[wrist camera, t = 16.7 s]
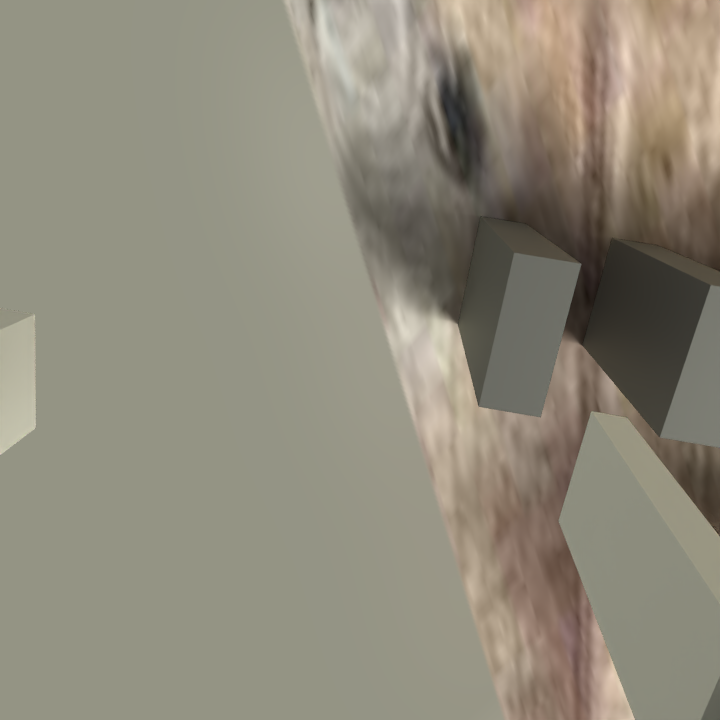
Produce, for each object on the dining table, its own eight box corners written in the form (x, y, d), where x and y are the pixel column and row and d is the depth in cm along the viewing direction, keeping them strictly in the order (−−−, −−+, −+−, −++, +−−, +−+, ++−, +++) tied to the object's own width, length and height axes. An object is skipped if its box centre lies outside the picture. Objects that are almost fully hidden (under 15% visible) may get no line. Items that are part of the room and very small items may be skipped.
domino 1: (500, 331, 36) (540, 417, 25) (457, 324, 36) (478, 406, 25) (525, 223, 34) (581, 263, 23) (480, 216, 34) (514, 252, 23)
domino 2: (625, 352, 36) (722, 448, 25) (582, 345, 36) (659, 437, 25) (657, 245, 34) (779, 296, 23) (612, 237, 34) (711, 285, 23)
